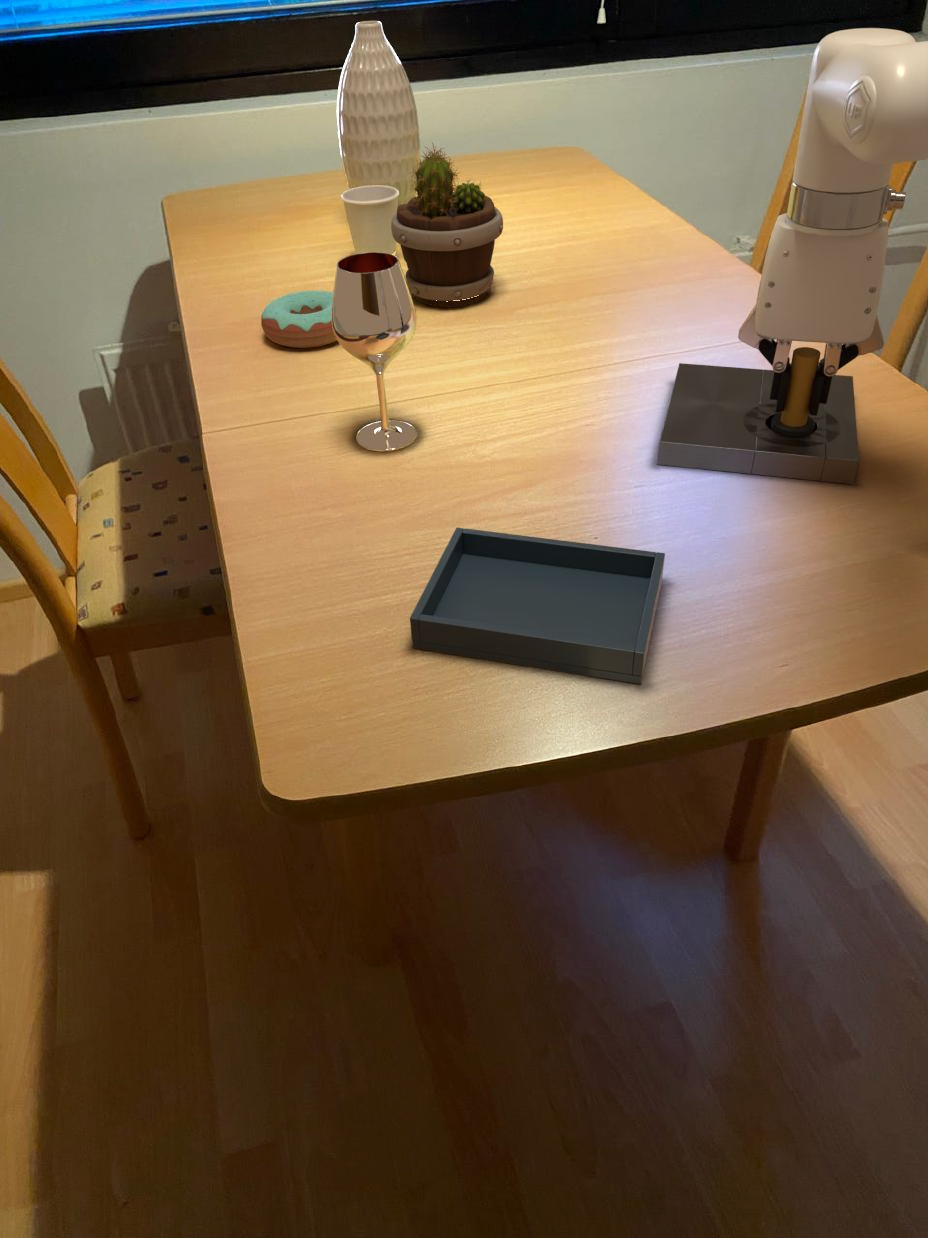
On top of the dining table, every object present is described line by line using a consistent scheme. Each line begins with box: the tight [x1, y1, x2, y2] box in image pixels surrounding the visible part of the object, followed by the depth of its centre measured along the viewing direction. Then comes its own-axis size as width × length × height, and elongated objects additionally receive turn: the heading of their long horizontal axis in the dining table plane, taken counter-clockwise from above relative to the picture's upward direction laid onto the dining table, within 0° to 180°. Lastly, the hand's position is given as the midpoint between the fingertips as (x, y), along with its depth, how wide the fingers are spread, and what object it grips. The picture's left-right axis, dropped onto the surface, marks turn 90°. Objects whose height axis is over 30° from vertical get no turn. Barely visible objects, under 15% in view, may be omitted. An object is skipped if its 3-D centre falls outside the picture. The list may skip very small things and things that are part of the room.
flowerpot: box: [391, 141, 504, 308], centre depth 121 cm, size 14×15×20 cm
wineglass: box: [331, 252, 418, 453], centre depth 91 cm, size 8×8×18 cm
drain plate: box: [656, 362, 860, 485], centre depth 94 cm, size 18×18×2 cm
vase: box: [336, 20, 421, 207], centre depth 145 cm, size 13×13×28 cm
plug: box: [770, 346, 821, 437], centre depth 88 cm, size 4×4×10 cm
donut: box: [260, 290, 338, 349], centre depth 118 cm, size 12×12×4 cm
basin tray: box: [409, 527, 666, 685], centre depth 73 cm, size 17×12×3 cm
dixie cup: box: [340, 185, 399, 254], centre depth 135 cm, size 8×8×10 cm
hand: (796, 406), depth 89 cm, fingers closed on plug, 2 cm apart
